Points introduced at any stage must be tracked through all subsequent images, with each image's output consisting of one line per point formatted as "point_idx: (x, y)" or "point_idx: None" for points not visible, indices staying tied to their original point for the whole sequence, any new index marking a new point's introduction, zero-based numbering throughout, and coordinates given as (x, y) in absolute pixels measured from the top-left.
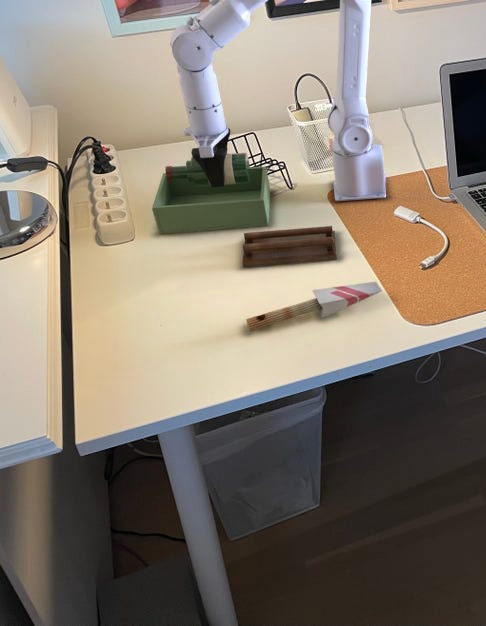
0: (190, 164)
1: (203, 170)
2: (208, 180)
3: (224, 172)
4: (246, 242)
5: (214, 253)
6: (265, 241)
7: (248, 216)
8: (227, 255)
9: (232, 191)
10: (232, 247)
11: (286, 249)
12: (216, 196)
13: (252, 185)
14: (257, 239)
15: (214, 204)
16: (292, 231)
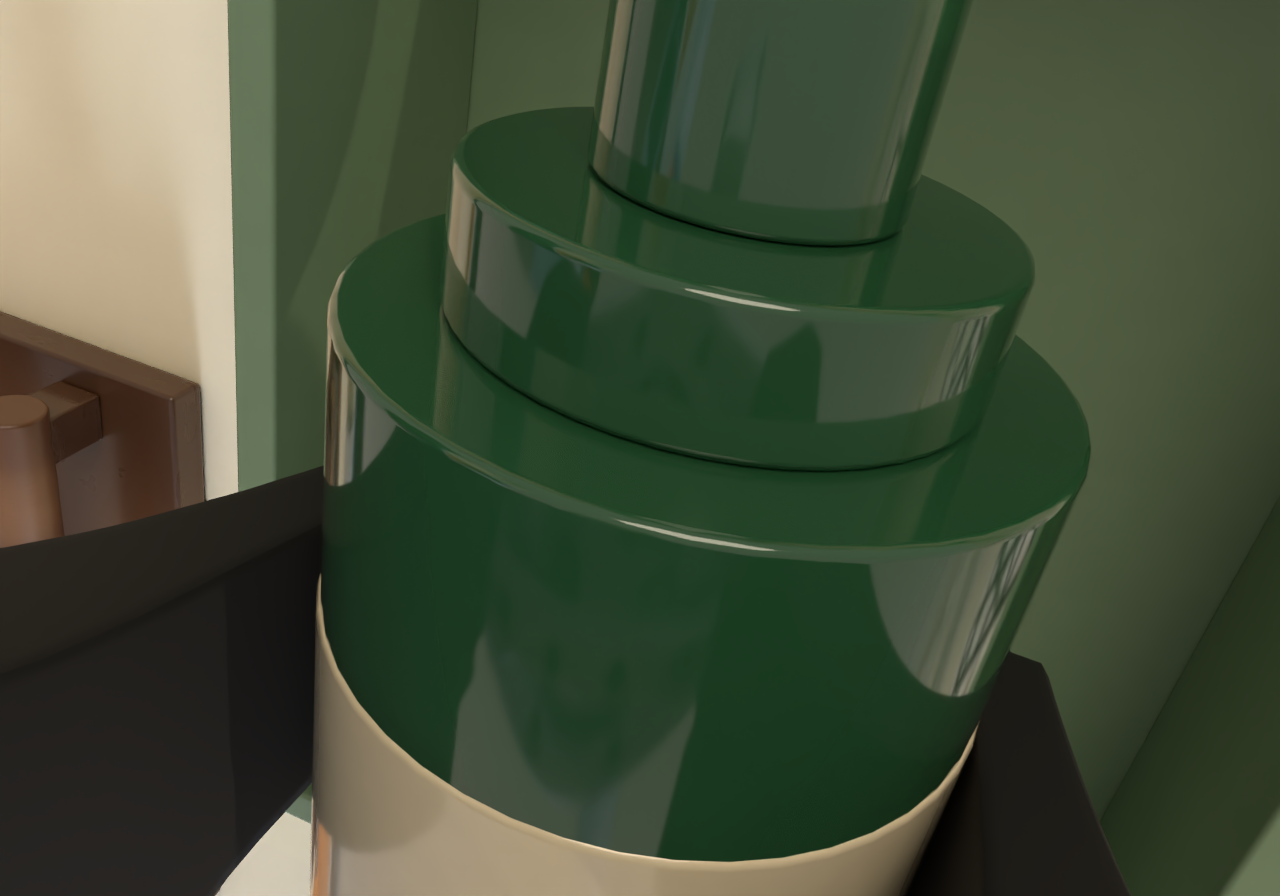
0: (499, 348)
1: (78, 533)
2: (319, 467)
3: (300, 780)
4: (31, 393)
5: (63, 90)
6: (108, 519)
7: None
8: (33, 194)
9: (1231, 587)
10: (139, 261)
11: None
12: (1220, 370)
13: (1125, 827)
14: (142, 478)
15: (238, 326)
16: None
